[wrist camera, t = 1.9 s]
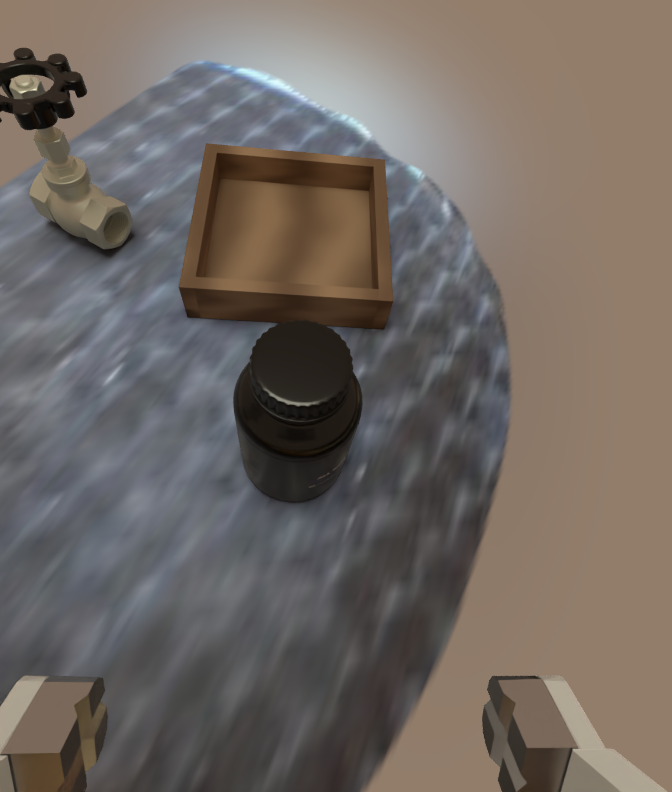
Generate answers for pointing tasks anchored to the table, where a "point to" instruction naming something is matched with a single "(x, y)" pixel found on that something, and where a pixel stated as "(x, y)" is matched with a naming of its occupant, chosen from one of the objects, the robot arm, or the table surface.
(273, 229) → the walnut tray
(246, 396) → the supplement bottle
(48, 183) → the valve
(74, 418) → the table surface
